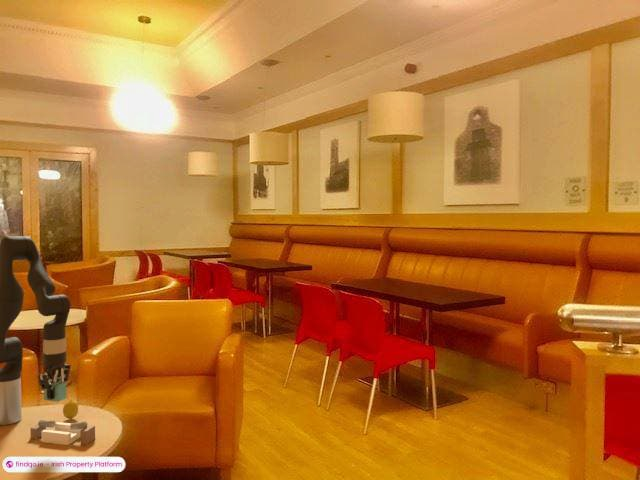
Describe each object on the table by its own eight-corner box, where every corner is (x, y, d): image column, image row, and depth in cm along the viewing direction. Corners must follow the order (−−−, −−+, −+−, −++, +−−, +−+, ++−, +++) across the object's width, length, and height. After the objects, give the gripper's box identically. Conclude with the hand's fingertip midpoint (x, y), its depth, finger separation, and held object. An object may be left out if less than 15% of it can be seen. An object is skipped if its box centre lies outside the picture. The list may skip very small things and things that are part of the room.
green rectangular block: (44, 399, 189) (44, 383, 188) (52, 396, 193) (52, 380, 192) (58, 401, 187) (58, 385, 187) (66, 397, 191) (66, 381, 191)
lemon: (81, 417, 214) (80, 398, 213) (73, 422, 208) (73, 402, 208) (68, 416, 214) (67, 397, 214) (60, 421, 209) (59, 402, 208)
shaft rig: (26, 440, 192) (26, 420, 192) (43, 430, 201) (43, 411, 200) (83, 447, 187) (82, 427, 187) (98, 436, 196) (98, 417, 195)
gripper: (59, 344, 197) (60, 389, 198) (30, 354, 183) (31, 402, 184) (77, 346, 195) (77, 391, 196) (49, 356, 181) (49, 405, 182)
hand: (55, 396), depth 190 cm, fingers closed on green rectangular block, 4 cm apart
